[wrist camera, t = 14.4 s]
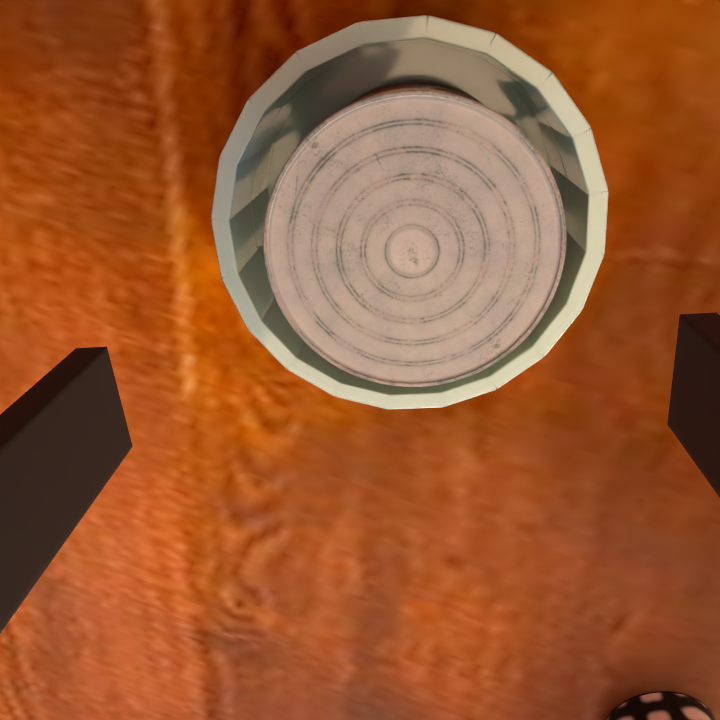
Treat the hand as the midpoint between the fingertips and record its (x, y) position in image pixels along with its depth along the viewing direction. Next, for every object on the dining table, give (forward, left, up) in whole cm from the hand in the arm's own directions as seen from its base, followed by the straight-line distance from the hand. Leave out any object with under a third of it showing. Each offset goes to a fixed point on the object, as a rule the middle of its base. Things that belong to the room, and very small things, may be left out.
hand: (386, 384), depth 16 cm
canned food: (+1, 0, -23) cm, 23 cm away
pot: (0, 0, -23) cm, 23 cm away
